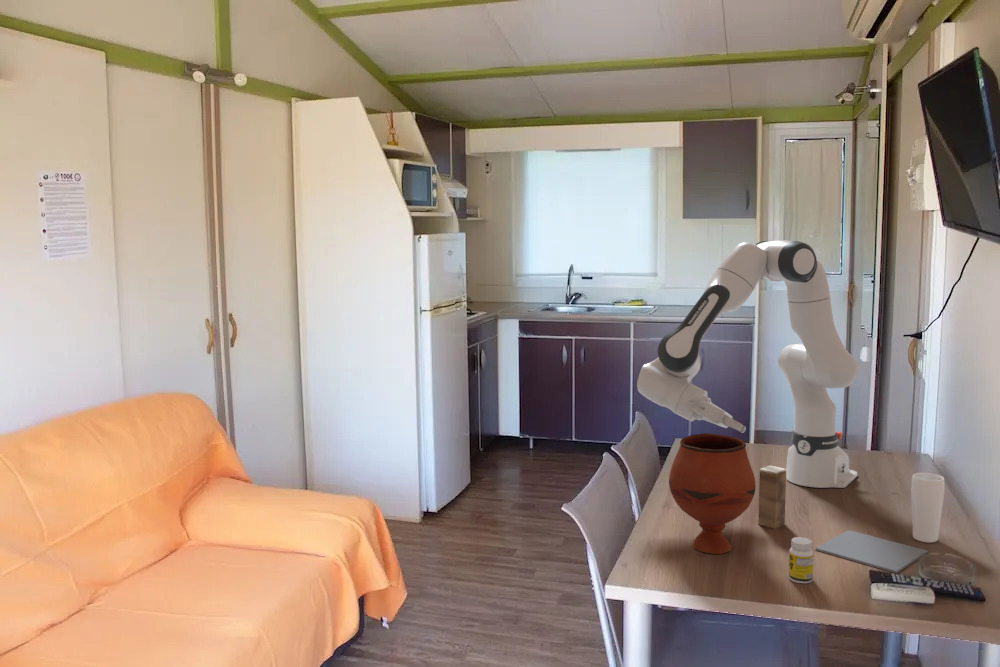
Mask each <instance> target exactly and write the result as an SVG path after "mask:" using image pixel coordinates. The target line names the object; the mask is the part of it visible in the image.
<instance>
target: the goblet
mask: <svg viewBox="0 0 1000 667" xmlns="http://www.w3.org/2000/svg"><path fill="white" fill-rule="evenodd" d="M679 442H680V444H679V445H680V446H679V447H678V448H679V449H678V450H677V452H676V455H675V457H674V458H673V463H672V465H671V467H670V469H669V470H670V471H669V476H668V487H669V490H670V493H671V496H672V498H673V500H674V501H675V503H676V504H677V506H678V507H679V508H680V509H681V510H682V512H684V513H685V514H687V515H688V516H689V517H691V518H692V519H693V520H695V521H697V522H699V523H698V525H699V527H700V528H701V529H702V530H701V532H699V534H698V535H697V536H696V537H695V539H694V540H693V542H692V544H691V545H692V547H693V549H694V550H696V551H698V552H701V553H706V554H712V555H721V554H724V553H725V554H726V553H728V552H730V551H732V545H731V543H730V542H729V539H727V537H726V536H725V534H724V533H723V531H724V530H725V529H726V524H728V523H730V522H732V521H734V520H736V519H737V518H738V517H740V516H741V515H742V514H743V513H745V511H746V510H747V509H748V508H749V507H750V505H751V503H752V501H753V499H754V497H755V493H756V486H757V485H756V478H755V474H754V473H755V472H754V471H753V469H752V467H751V463H750V460H749V458H748V454H747V453H748V452H747V448H746V447H747V444H746V442H745V441H744V440H742V439H740V438H738V437H735V436H730V435H729V436H728V435H723V434H717V433H716V434H715V433H707V432H706V433H705V432H704V433H703V432H702V433H697V434H691V435H687V436H685V437H683V438H681V440H680V441H679Z"/></svg>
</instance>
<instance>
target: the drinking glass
mask: <svg viewBox="0 0 1000 667" xmlns="http://www.w3.org/2000/svg"><path fill="white" fill-rule="evenodd" d="M910 488H911V491H910V493H911V494H910V497H911V516H912V537H913V539H915V541H918V542H922V543H926V544H927V543H931V544H932V543H936V542H938V540H939V536H940V535H939V533H940V532H939V531H940V523H941V518H942V517H941V516H942V512H943V506H944V497H945V478H944V477H943V476H942V475H939V474H936V473H931V472H915V473H913V474H912V476H911V487H910Z"/></svg>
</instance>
